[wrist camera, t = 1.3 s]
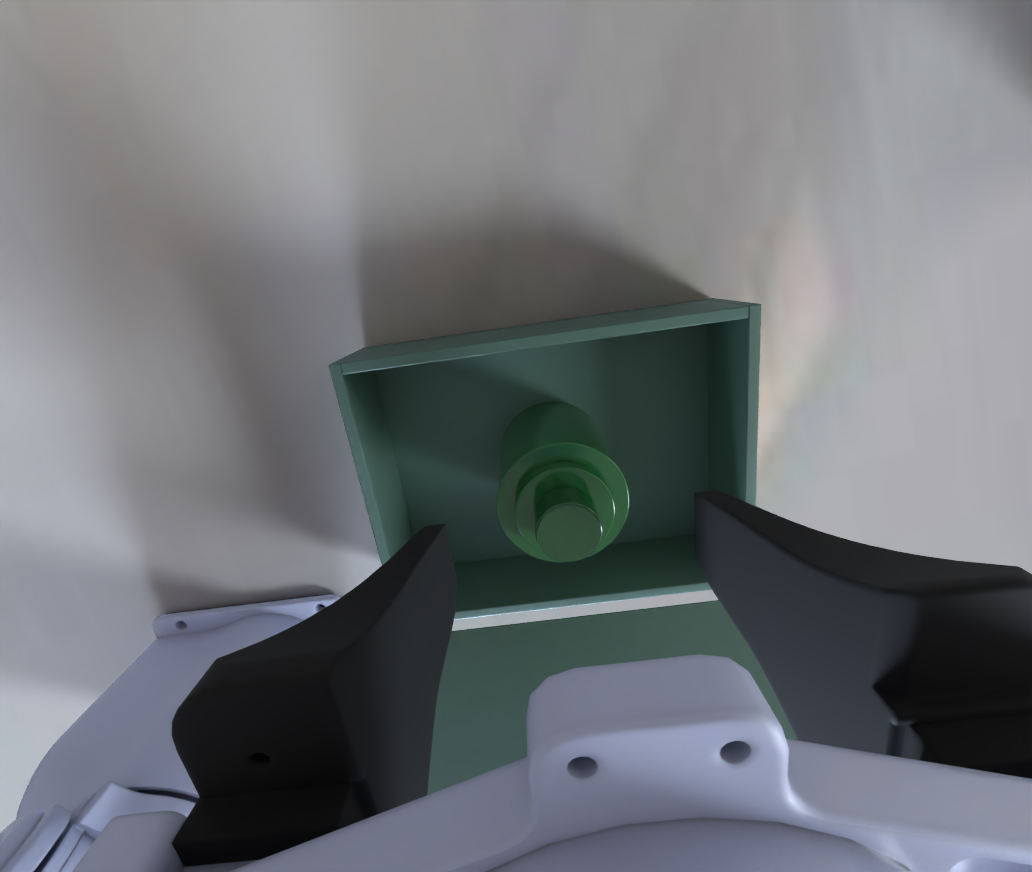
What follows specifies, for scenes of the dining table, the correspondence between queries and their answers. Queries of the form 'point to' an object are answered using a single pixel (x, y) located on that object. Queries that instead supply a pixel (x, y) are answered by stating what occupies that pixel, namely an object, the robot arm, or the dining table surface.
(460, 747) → the flap
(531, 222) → the dining table surface
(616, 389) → the case
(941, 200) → the dining table surface
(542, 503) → the bottle
